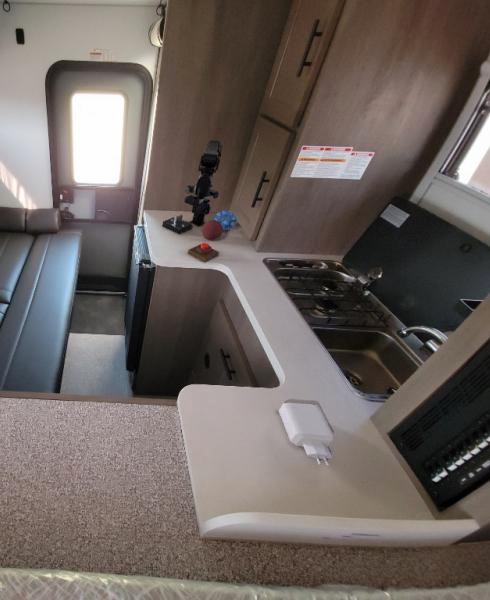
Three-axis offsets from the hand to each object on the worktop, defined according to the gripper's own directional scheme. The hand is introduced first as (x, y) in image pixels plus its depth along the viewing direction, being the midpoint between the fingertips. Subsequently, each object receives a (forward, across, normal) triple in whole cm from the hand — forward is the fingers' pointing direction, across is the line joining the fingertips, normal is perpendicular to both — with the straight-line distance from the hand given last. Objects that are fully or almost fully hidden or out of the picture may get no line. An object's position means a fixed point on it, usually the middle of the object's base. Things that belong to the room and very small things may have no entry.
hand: (198, 214), depth 161 cm
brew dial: (+10, -2, -13) cm, 16 cm away
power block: (+13, +10, +14) cm, 22 cm away
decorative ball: (+13, -6, +6) cm, 16 cm away
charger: (+13, +64, +89) cm, 110 cm away
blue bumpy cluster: (+13, -18, +5) cm, 23 cm away
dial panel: (+13, -2, -13) cm, 18 cm away
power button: (+9, +10, +14) cm, 20 cm away
